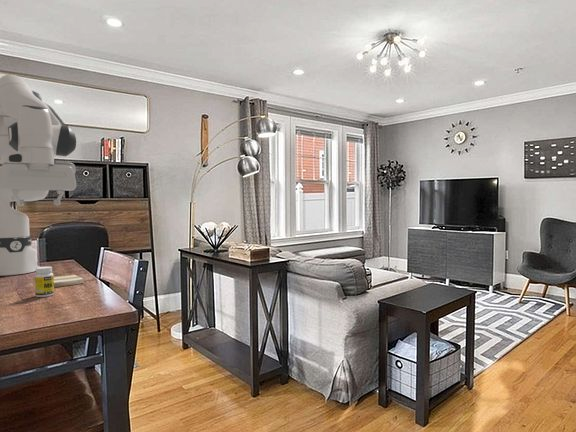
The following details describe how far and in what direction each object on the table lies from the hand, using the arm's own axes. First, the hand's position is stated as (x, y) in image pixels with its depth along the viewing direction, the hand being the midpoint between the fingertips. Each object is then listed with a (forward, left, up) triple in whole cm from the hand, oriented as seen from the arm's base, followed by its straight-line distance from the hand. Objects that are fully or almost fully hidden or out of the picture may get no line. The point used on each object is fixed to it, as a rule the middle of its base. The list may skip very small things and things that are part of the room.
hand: (39, 205), depth 118 cm
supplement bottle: (+3, 0, -27) cm, 27 cm away
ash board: (-13, +8, -27) cm, 31 cm away
